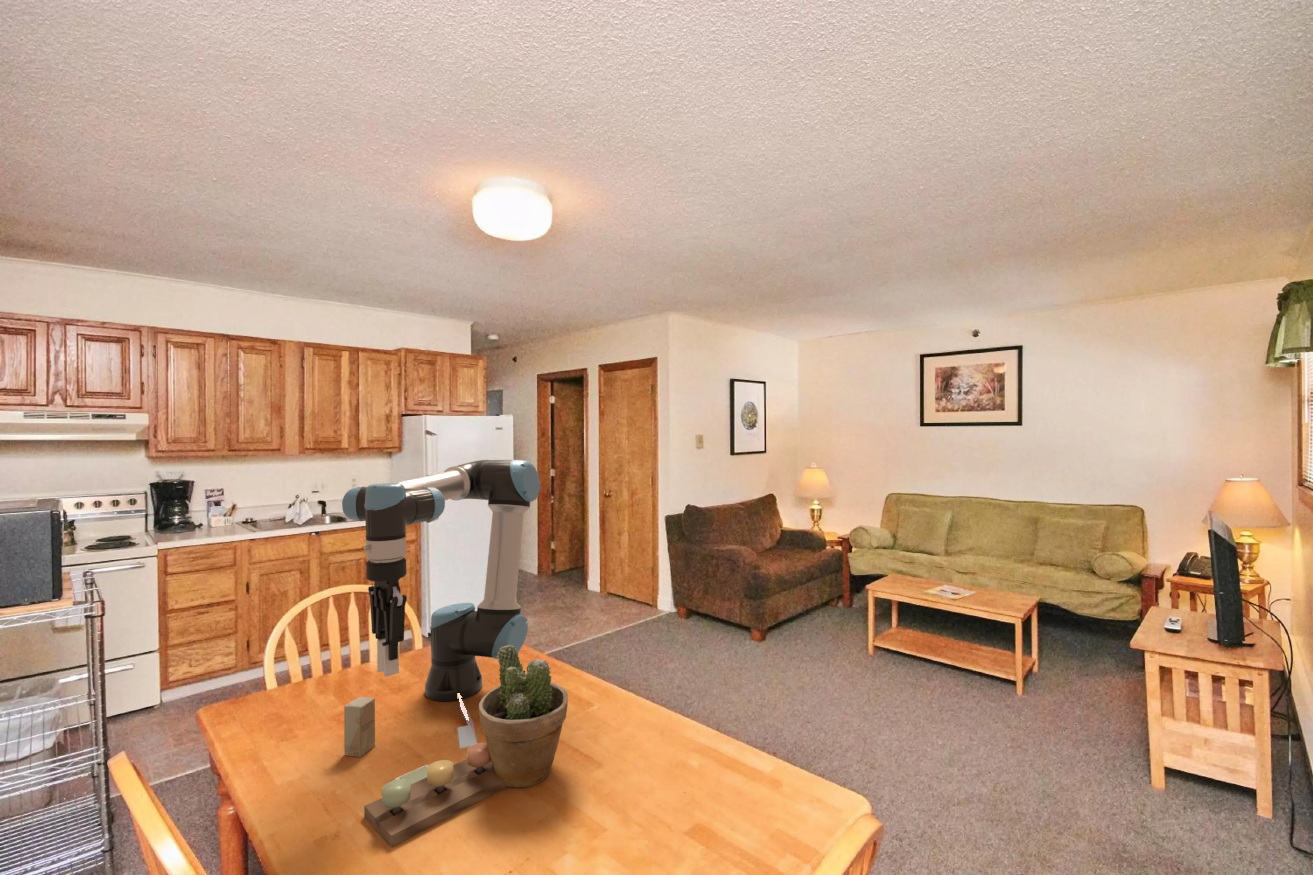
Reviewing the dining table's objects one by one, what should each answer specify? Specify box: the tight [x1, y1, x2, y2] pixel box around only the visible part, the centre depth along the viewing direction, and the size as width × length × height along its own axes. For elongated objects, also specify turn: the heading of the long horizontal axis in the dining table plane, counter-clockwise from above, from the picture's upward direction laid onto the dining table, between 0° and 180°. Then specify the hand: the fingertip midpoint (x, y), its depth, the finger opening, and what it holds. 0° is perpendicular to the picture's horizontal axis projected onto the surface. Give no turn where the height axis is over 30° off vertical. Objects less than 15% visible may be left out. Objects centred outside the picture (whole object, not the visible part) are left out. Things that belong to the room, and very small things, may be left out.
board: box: [363, 758, 508, 848], centre depth 114 cm, size 24×12×2 cm, turn 137°
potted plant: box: [478, 645, 569, 788], centre depth 122 cm, size 18×19×25 cm
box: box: [343, 696, 376, 757], centre depth 132 cm, size 5×4×11 cm
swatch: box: [394, 763, 430, 785], centre depth 120 cm, size 7×7×1 cm
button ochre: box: [427, 759, 454, 792], centre depth 114 cm, size 5×5×5 cm
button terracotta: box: [466, 742, 491, 773], centre depth 120 cm, size 5×5×5 cm
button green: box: [381, 779, 411, 814], centre depth 108 cm, size 5×5×5 cm
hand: (388, 671), depth 120 cm, fingers open, 3 cm apart
